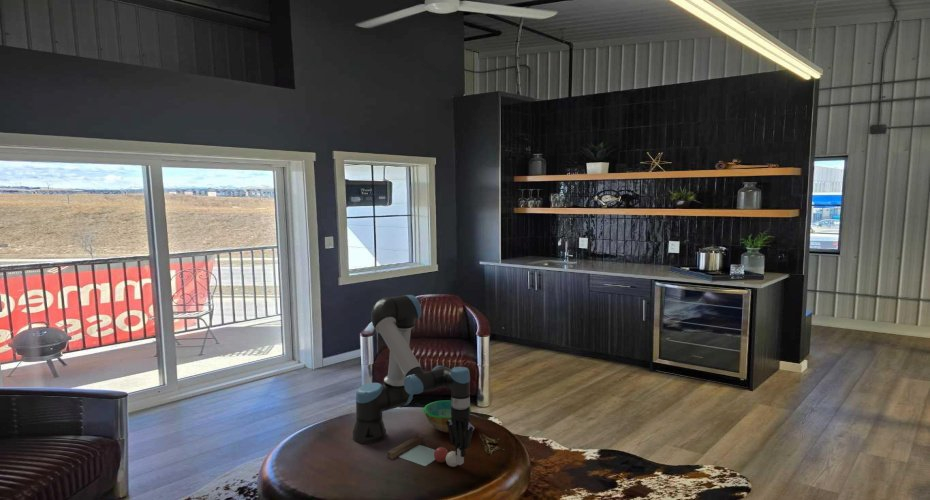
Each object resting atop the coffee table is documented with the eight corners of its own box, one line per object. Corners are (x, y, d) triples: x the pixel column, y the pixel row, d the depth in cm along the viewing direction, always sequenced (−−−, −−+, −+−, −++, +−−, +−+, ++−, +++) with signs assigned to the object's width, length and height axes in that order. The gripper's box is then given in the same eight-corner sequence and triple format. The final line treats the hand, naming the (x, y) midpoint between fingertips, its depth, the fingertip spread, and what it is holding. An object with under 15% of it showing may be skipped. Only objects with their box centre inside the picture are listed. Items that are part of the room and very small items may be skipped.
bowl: (459, 417, 280) (459, 397, 279) (478, 434, 259) (479, 413, 258) (416, 423, 271) (416, 403, 270) (433, 442, 250) (433, 420, 249)
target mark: (398, 457, 236) (398, 456, 236) (419, 445, 248) (419, 444, 248) (425, 466, 228) (425, 465, 228) (445, 453, 240) (445, 453, 240)
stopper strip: (387, 457, 235) (387, 451, 235) (417, 440, 252) (417, 435, 252) (391, 459, 234) (391, 453, 234) (421, 442, 251) (421, 436, 250)
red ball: (431, 462, 232) (430, 448, 231) (439, 457, 237) (439, 443, 236) (442, 466, 228) (442, 452, 228) (451, 460, 233) (451, 446, 233)
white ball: (449, 472, 227) (440, 459, 229) (457, 466, 231) (448, 454, 234) (457, 463, 224) (447, 451, 226) (465, 457, 229) (456, 445, 231)
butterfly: (508, 455, 240) (486, 452, 237) (505, 463, 240) (484, 459, 238) (497, 431, 257) (477, 427, 254) (494, 437, 257) (474, 434, 255)
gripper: (441, 406, 225) (441, 463, 227) (468, 412, 218) (468, 471, 220) (452, 400, 232) (452, 456, 234) (479, 406, 224) (479, 464, 226)
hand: (460, 463), depth 227 cm, fingers closed
